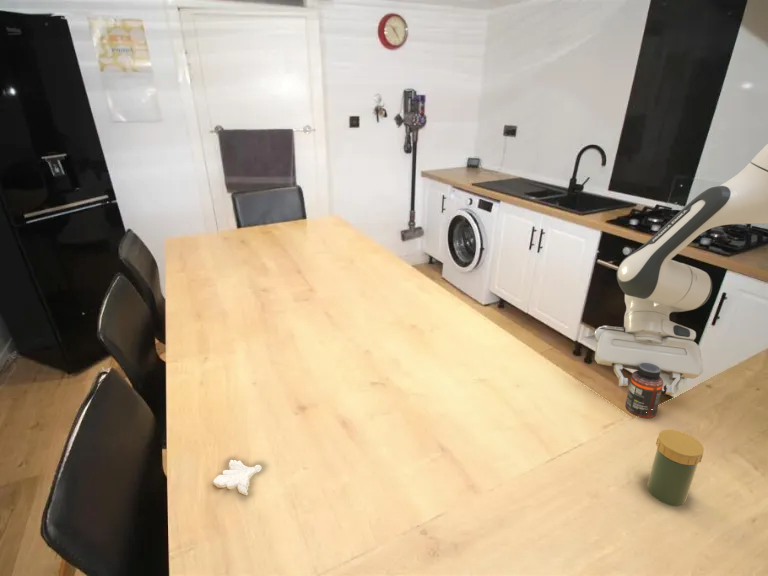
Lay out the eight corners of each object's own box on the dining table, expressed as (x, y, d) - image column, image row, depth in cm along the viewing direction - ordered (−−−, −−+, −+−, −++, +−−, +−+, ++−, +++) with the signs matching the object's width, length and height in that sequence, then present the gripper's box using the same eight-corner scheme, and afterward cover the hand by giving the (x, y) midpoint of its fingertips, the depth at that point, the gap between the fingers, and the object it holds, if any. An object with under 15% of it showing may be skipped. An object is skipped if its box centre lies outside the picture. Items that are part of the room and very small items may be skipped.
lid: (703, 450, 67) (706, 441, 66) (697, 471, 63) (700, 461, 62) (660, 433, 71) (662, 424, 70) (652, 452, 67) (654, 443, 66)
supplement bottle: (653, 407, 92) (664, 363, 88) (657, 423, 87) (669, 377, 83) (623, 400, 95) (632, 357, 91) (625, 415, 90) (635, 371, 86)
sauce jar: (688, 493, 70) (703, 443, 67) (682, 513, 66) (698, 462, 63) (650, 476, 74) (663, 428, 70) (643, 494, 70) (656, 445, 66)
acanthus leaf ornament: (247, 498, 71) (245, 490, 71) (210, 494, 72) (208, 486, 72) (265, 465, 78) (263, 457, 78) (231, 462, 79) (229, 454, 78)
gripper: (598, 319, 94) (594, 377, 89) (704, 332, 87) (707, 396, 82) (593, 328, 100) (590, 384, 95) (693, 341, 93) (695, 402, 87)
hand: (645, 390), depth 88 cm, fingers open, 7 cm apart
